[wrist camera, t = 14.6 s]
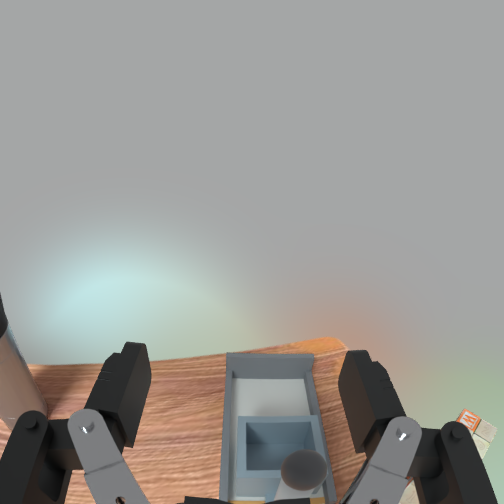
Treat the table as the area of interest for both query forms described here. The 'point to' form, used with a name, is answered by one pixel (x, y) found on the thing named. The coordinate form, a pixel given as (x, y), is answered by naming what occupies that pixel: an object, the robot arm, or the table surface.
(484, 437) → the stack of blocks
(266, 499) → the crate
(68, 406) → the table surface
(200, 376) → the table surface
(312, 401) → the crate bay
